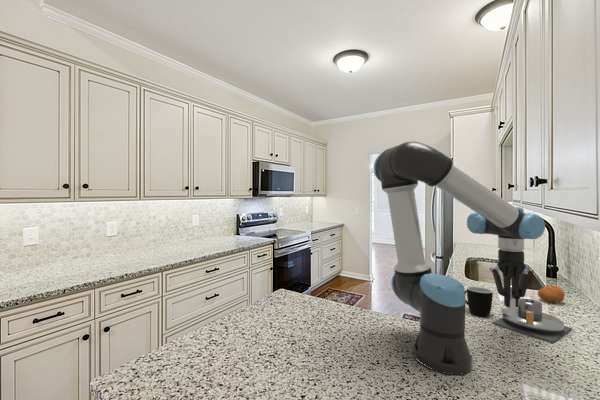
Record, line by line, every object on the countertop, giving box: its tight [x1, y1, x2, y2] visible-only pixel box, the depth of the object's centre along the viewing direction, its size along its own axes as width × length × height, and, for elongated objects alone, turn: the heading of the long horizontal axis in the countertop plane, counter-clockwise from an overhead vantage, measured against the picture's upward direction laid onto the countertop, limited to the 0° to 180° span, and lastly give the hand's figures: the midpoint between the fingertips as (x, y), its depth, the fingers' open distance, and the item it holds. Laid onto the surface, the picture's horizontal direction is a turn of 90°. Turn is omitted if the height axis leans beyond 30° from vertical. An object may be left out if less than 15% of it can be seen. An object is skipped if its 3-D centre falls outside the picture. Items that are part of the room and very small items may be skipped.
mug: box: [465, 286, 494, 318], centre depth 120 cm, size 12×9×10 cm
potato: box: [537, 285, 565, 303], centre depth 135 cm, size 9×11×8 cm
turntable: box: [501, 308, 565, 332], centre depth 107 cm, size 18×18×6 cm
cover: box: [518, 297, 543, 322], centre depth 106 cm, size 7×7×7 cm
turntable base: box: [491, 317, 573, 344], centre depth 106 cm, size 20×18×2 cm
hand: (511, 315), depth 102 cm, fingers closed
